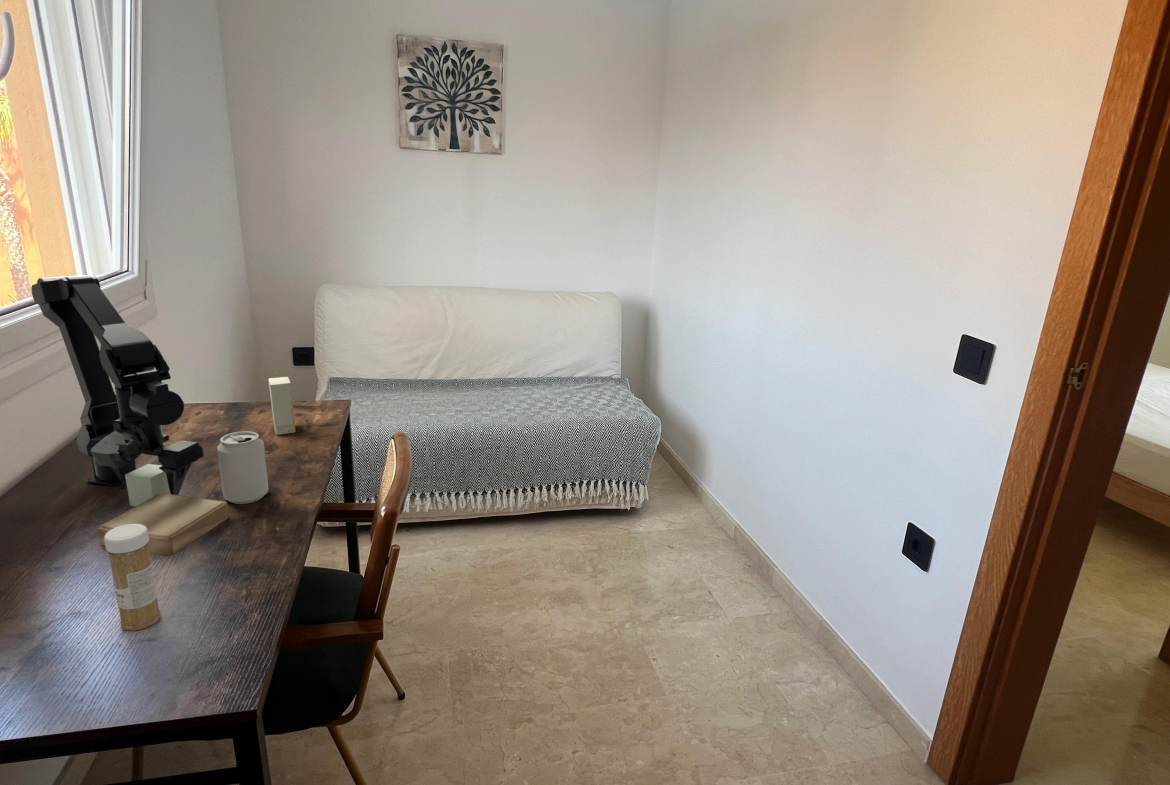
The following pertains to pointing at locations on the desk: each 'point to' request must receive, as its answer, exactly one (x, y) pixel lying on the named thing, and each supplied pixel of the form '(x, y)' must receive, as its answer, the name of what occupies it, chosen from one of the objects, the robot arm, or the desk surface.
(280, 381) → the skincare box
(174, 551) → the base slab
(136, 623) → the sprinkles bottle
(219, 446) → the can
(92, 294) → the robot arm
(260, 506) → the desk surface
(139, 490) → the green block
